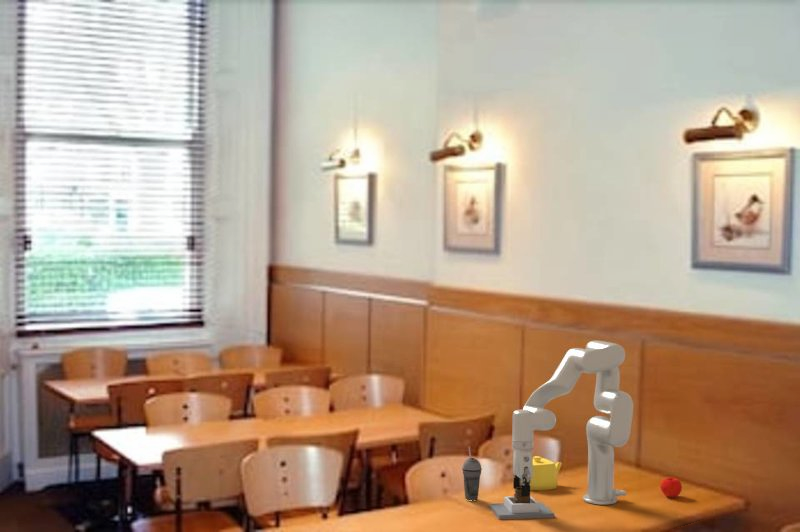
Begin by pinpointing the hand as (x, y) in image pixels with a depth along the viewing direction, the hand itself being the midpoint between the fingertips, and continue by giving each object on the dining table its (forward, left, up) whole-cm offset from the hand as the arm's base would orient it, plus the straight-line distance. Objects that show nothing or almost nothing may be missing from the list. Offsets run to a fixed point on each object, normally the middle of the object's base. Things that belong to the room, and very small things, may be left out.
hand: (521, 492), depth 346 cm
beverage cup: (+14, -18, -7) cm, 24 cm away
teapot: (-17, -34, -8) cm, 39 cm away
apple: (-63, -14, -7) cm, 65 cm away
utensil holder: (0, 0, -6) cm, 6 cm away
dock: (0, 0, -7) cm, 7 cm away
